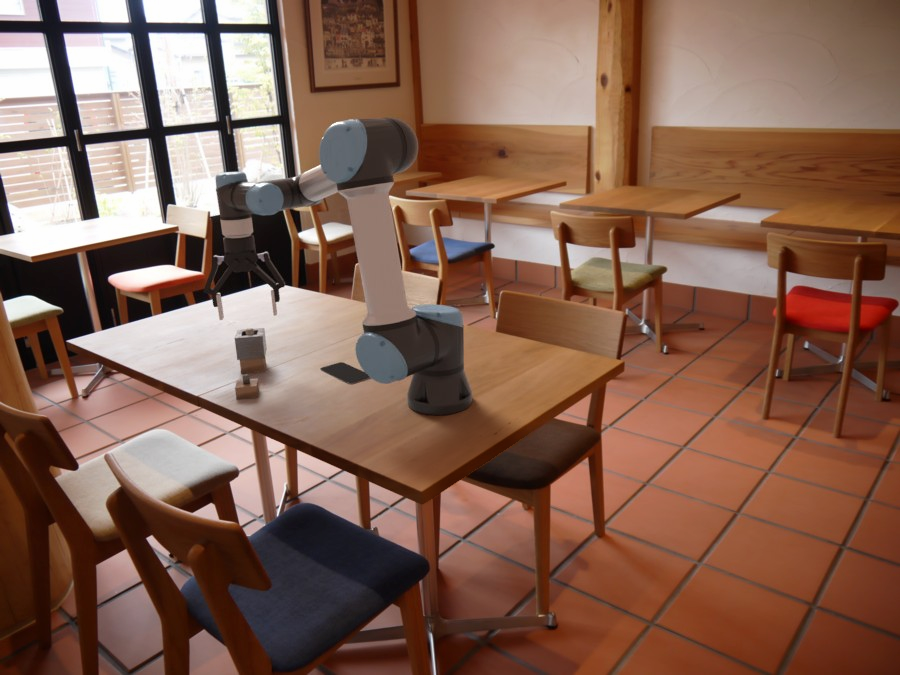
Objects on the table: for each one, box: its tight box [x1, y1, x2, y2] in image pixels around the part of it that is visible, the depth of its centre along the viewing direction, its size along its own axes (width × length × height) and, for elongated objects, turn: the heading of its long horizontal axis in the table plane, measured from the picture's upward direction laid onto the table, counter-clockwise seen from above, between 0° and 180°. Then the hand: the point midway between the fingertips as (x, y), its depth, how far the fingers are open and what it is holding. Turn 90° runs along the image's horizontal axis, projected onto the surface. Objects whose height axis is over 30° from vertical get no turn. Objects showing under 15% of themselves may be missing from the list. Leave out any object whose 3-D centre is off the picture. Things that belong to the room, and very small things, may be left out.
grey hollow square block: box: [234, 327, 267, 361], centre depth 196 cm, size 7×7×6 cm
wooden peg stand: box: [239, 327, 267, 375], centre depth 196 cm, size 6×6×11 cm
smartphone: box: [320, 361, 371, 385], centre depth 193 cm, size 7×1×15 cm
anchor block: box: [234, 373, 260, 400], centre depth 180 cm, size 5×5×5 cm
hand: (248, 316), depth 193 cm, fingers open, 13 cm apart
